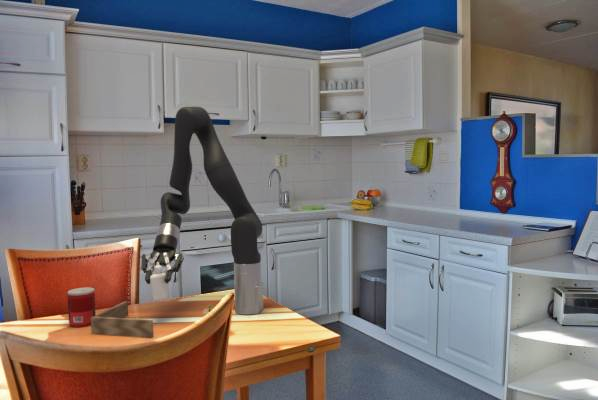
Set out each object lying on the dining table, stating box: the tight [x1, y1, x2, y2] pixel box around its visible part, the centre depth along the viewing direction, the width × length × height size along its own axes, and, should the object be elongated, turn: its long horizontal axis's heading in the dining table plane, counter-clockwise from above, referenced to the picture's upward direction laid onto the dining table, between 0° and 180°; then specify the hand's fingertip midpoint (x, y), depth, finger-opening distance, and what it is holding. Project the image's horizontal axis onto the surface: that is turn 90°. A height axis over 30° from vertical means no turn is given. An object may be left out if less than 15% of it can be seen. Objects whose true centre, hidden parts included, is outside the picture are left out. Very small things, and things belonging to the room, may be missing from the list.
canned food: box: [67, 286, 97, 328], centre depth 155 cm, size 8×8×11 cm
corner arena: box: [90, 300, 154, 339], centre depth 152 cm, size 20×18×5 cm
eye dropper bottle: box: [149, 262, 170, 301], centre depth 155 cm, size 4×6×12 cm
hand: (157, 282), depth 154 cm, fingers closed on eye dropper bottle, 5 cm apart
